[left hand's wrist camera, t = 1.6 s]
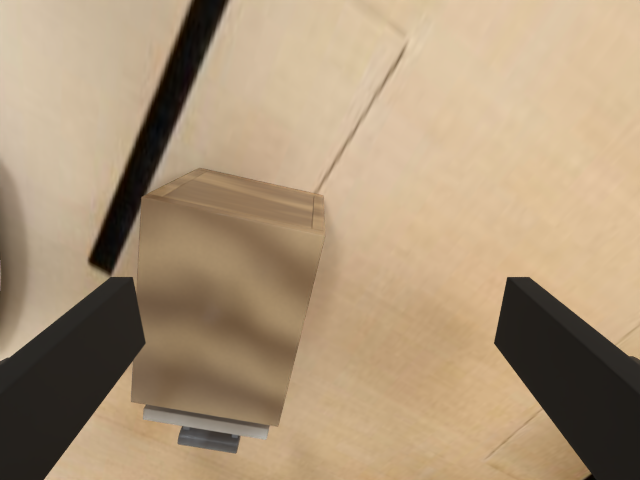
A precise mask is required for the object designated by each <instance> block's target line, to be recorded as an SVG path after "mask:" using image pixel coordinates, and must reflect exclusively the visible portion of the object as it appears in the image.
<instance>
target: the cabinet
mask: <svg viewBox="0 0 640 480" xmlns="http://www.w3.org/2000/svg"><path fill="white" fill-rule="evenodd" d="M324 239H325V223H324V199H323V195H319V194H314V193H310V192H305V191H301V190H296V189H292V188H287V187H283V186H278V185H274V184H269V183H265V182H260V181H256V180H252V179H247V178H243V177H238V176H234V175H229V174H225V173H220V172H216V171H211V170H207V169H202V168H198V169H197V170H194V171H192V172H190V173H188V174H186V175H184V176H182V177H180V178H178V179H176V180H174V181H172V182H170V183H168V184H166V185H164V186H162V187H160V188H158V189H156V190H154V191H152V192H150V193H148V194H146V195H144V196H142V199H141V218H140V237H139V256H138V275H137V295H136V296H137V301H138V306H139V311H140V316H141V321H142V326H143V331H144V336H145V341H146V344H145V345H144V346H143V348H142V349H141V350H140V352H139V353H138V354H137V356H136V357H135V358H134V360H133V372H132V391H131V402H135V403H141V404H147V405H152V406H158V407H164V408H170V409H176V410H182V411H188V412H194V413H200V414H206V415H212V416H218V417H224V418H230V419H236V420H241V421H247V422H253V423H259V424H265V425H271V426H277V427H278V425H279V421H280V417H281V413H282V409H283V405H284V401H285V397H286V393H287V389H288V385H289V381H290V377H291V373H292V369H293V365H294V361H295V357H296V353H297V348H298V344H299V340H300V336H301V332H302V328H303V324H304V320H305V316H306V312H307V308H308V304H309V300H310V296H311V292H312V288H313V284H314V280H315V276H316V272H317V268H318V263H319V259H320V255H321V251H322V247H323V243H324Z"/></svg>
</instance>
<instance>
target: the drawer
mask: <svg viewBox="0 0 640 480" xmlns="http://www.w3.org/2000/svg"><path fill="white" fill-rule="evenodd" d="M143 419H144V420H150V421H156V422H162V423H168V424H174V425H180V426H182V428H181V430H180V433H179V437H178V444H180V445H186V446H192V447H198V448H204V449H211V450H217V451H223V452H229V453H237V450H238V446H239V441H240V436H246V437H252V438H258V439H264V440H266V439H267V435H268V431H269V425H265V424H259V423H253V422H247V421H241V420H236V419H230V418H224V417H218V416H212V415H206V414H200V413H194V412H188V411H182V410H176V409H170V408H164V407H158V406H152V405H147V404H146V406H145V407H144V414H143Z"/></svg>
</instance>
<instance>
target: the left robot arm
mask: <svg viewBox="0 0 640 480" xmlns="http://www.w3.org/2000/svg"><path fill="white" fill-rule="evenodd" d="M145 344H146V341H145V336H144V331H143V326H142V321H141V316H140V311H139V306H138V301H137V296H136V291H135V286H134V281H133V277H110V278H109V279H108V280H107V281H105V282H104V283H103V284H102V285H100V286H99V287H98V288H97V289H95V290H94V291H93V292H92V293H90V294H89V295H88V296H87V297H85V298H84V299H83V300H81V301H80V302H79V303H78V304H76V305H75V306H74V307H73V308H71V309H70V310H69V311H68V312H66V313H65V314H64V315H63V316H61V317H60V318H59V319H58V320H56V321H55V322H54V323H53V324H51V325H50V326H49V327H48V328H46V329H45V330H44V331H42V332H41V333H40V334H39V335H37V336H36V337H35V338H34V339H32V340H31V341H30V342H29V343H27V344H26V345H25V346H24V347H22V348H21V349H20V350H19V351H17V352H16V353H15V354H14V355H12V356H11V357H10V358H6V359H4V360H2V361H0V480H44V479H45V477H46V476H47V475H48V473H49V472H50V471H51V469H52V468H53V467H54V465H55V464H56V463H57V461H58V460H59V459H60V457H61V456H62V455H63V453H64V452H65V451H66V449H67V448H68V447H69V445H70V444H71V443H72V441H73V440H74V439H75V437H76V436H77V435H78V433H79V432H80V431H81V429H82V428H83V427H84V425H85V424H86V423H87V421H88V420H89V419H90V417H91V416H92V415H93V413H94V412H95V411H96V409H97V408H98V407H99V405H100V404H101V403H102V401H103V400H104V399H105V397H106V396H107V395H108V393H109V392H110V391H111V389H112V388H113V387H114V385H115V384H116V383H117V381H118V380H119V379H120V377H121V376H122V375H123V373H124V372H125V371H126V369H127V368H128V367H129V365H130V364H131V363H132V361H133V360H134V358H135V357H136V356H137V354H138V353H139V352H140V350H141V349H142V348H143V346H144V345H145ZM494 344H495V345H496V346H497V348H498V349H499V350H500V352H501V353H502V354H503V356H504V357H505V358H506V360H507V361H508V363H509V364H510V365H511V367H512V368H513V369H514V371H515V372H516V373H517V375H518V376H519V377H520V379H521V380H522V381H523V383H524V384H525V385H526V387H527V388H528V389H529V391H530V392H531V393H532V395H533V396H534V397H535V399H536V400H537V401H538V403H539V404H540V405H541V407H542V408H543V409H544V411H545V412H546V413H547V415H548V416H549V417H550V419H551V420H552V421H553V423H554V424H555V425H556V427H557V428H558V429H559V431H560V432H561V433H562V435H563V436H564V437H565V439H566V440H567V441H568V443H569V444H570V445H571V447H572V448H573V449H574V451H575V452H576V453H577V455H578V456H579V457H580V459H581V460H582V461H583V463H584V464H585V465H586V467H587V468H588V469H589V471H590V472H591V473H592V475H593V476H594V477H595V479H596V480H640V360H639V359H637V358H635V357H633V356H628V355H626V354H625V353H624V352H623V351H621V350H620V349H619V348H618V347H616V346H615V345H614V344H613V343H611V342H610V341H609V340H608V339H606V338H605V337H604V336H603V335H601V334H600V333H599V332H598V331H596V330H595V329H594V328H592V327H591V326H590V325H589V324H587V323H586V322H585V321H584V320H582V319H581V318H580V317H579V316H577V315H576V314H575V313H574V312H572V311H571V310H570V309H569V308H567V307H566V306H565V305H564V304H562V303H561V302H560V301H559V300H557V299H556V298H555V297H553V296H552V295H551V294H550V293H548V292H547V291H546V290H545V289H543V288H542V287H541V286H540V285H538V284H537V283H536V282H535V281H533V280H532V279H531V278H530V277H507V281H506V286H505V291H504V296H503V301H502V306H501V311H500V316H499V321H498V326H497V331H496V336H495V341H494Z"/></svg>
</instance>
